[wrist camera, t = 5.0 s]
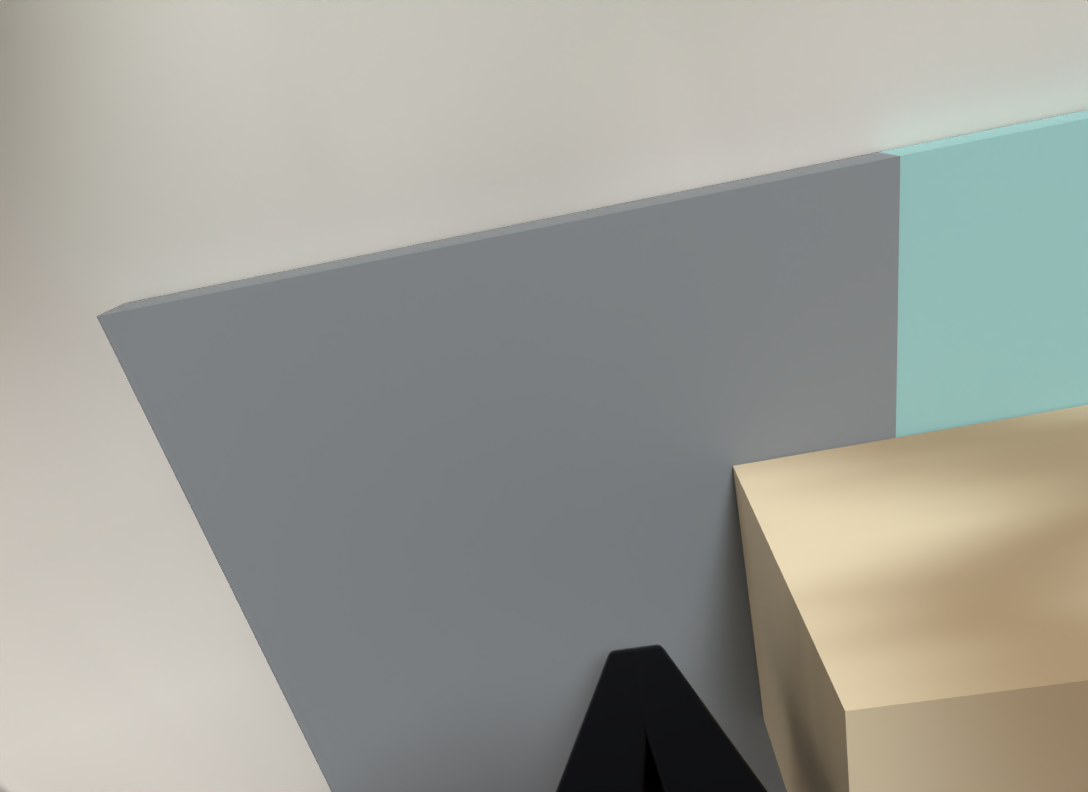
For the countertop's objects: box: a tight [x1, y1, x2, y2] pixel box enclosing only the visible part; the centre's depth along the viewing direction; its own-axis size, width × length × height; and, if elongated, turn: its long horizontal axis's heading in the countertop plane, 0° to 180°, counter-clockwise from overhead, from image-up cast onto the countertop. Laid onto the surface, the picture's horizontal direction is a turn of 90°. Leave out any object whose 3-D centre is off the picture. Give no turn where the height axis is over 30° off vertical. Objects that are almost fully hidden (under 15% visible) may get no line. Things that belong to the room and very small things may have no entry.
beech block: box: [733, 405, 1088, 792], centre depth 8 cm, size 5×5×4 cm
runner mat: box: [97, 110, 1088, 792], centre depth 10 cm, size 20×12×1 cm, turn 101°
